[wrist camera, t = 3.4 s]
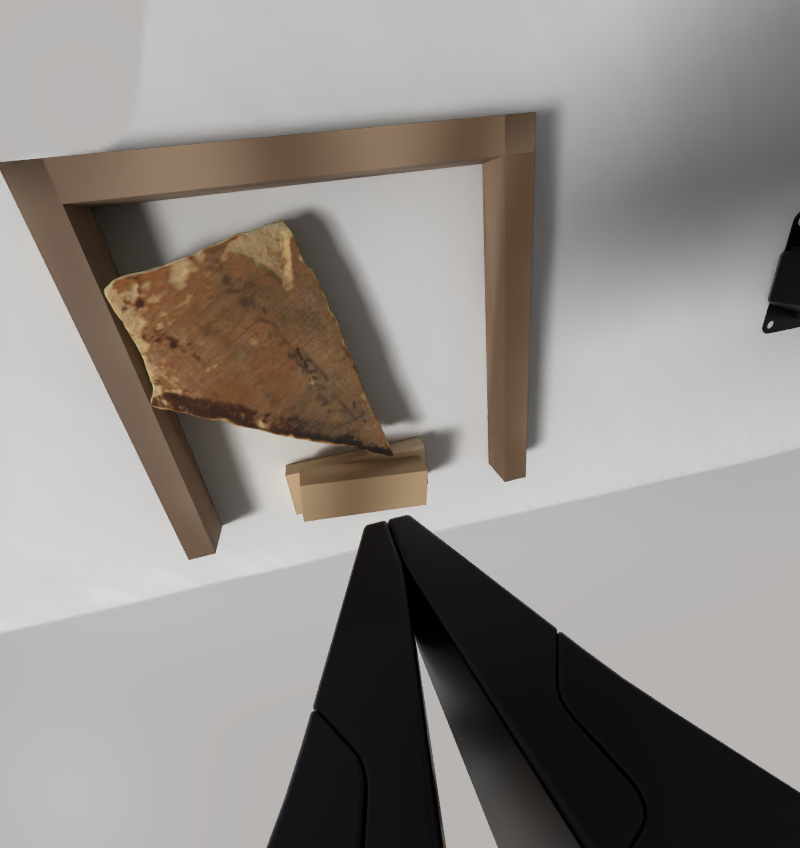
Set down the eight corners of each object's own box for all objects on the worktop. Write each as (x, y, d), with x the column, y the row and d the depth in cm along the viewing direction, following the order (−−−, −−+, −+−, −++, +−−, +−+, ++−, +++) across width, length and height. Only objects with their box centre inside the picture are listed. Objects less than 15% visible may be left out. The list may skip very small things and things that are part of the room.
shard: (384, 445, 20) (397, 459, 19) (241, 519, 19) (241, 541, 17) (286, 218, 16) (292, 211, 14) (85, 293, 14) (66, 295, 13)
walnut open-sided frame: (509, 125, 16) (536, 111, 14) (508, 458, 23) (525, 476, 21) (35, 171, 13) (-4, 162, 12) (198, 532, 21) (188, 559, 19)
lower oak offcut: (416, 432, 22) (424, 445, 20) (420, 469, 23) (428, 484, 21) (286, 460, 21) (285, 475, 19) (296, 497, 22) (296, 514, 20)
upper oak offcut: (419, 455, 21) (427, 470, 19) (418, 487, 21) (426, 504, 20) (299, 468, 19) (299, 486, 18) (303, 502, 20) (303, 521, 19)
